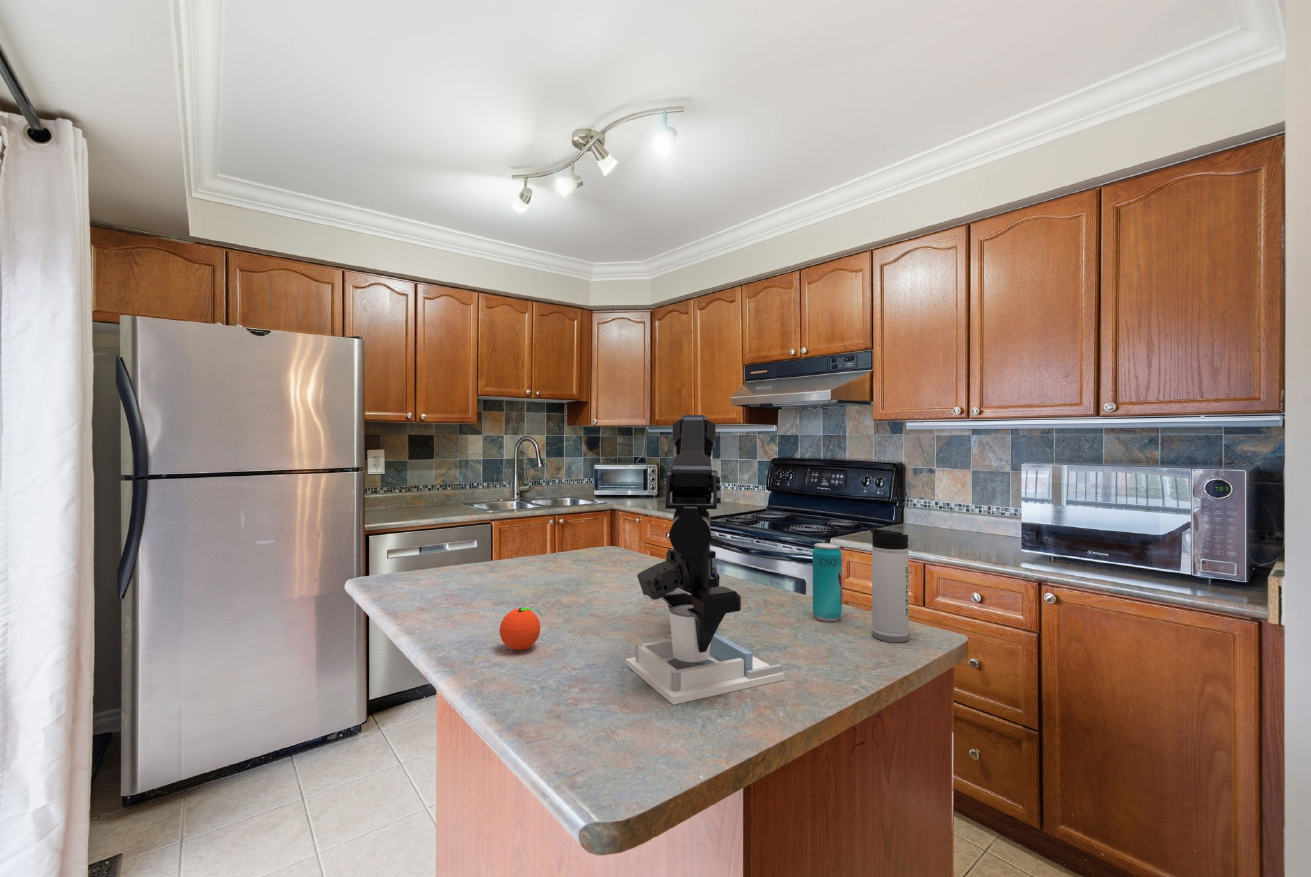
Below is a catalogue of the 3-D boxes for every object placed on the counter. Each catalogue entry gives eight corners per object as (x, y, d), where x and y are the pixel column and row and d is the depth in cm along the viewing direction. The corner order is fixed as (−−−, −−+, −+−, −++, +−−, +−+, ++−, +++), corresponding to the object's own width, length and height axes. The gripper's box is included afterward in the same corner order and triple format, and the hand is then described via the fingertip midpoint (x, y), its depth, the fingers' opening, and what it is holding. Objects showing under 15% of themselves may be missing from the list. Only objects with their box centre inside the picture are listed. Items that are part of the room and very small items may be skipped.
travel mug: (864, 632, 110) (864, 526, 110) (898, 631, 110) (897, 526, 111) (880, 643, 104) (879, 531, 104) (915, 642, 104) (915, 530, 105)
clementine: (531, 638, 106) (531, 599, 106) (553, 647, 101) (553, 606, 101) (491, 649, 101) (492, 607, 101) (513, 659, 96) (513, 616, 96)
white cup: (718, 650, 92) (718, 605, 92) (707, 666, 85) (707, 618, 85) (676, 645, 94) (676, 602, 94) (663, 660, 87) (663, 613, 88)
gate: (700, 648, 98) (700, 629, 98) (706, 647, 98) (706, 628, 98) (745, 675, 86) (745, 654, 86) (752, 674, 87) (752, 652, 87)
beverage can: (843, 623, 115) (843, 547, 116) (813, 621, 116) (813, 546, 117) (840, 615, 121) (840, 543, 121) (811, 613, 122) (811, 542, 122)
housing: (625, 664, 93) (626, 643, 93) (725, 646, 102) (725, 626, 102) (673, 704, 79) (673, 678, 79) (784, 679, 87) (784, 656, 87)
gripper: (619, 538, 95) (619, 635, 94) (674, 559, 78) (674, 676, 78) (679, 534, 99) (679, 625, 99) (743, 552, 83) (743, 662, 83)
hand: (691, 645), depth 90 cm, fingers closed on white cup, 6 cm apart
